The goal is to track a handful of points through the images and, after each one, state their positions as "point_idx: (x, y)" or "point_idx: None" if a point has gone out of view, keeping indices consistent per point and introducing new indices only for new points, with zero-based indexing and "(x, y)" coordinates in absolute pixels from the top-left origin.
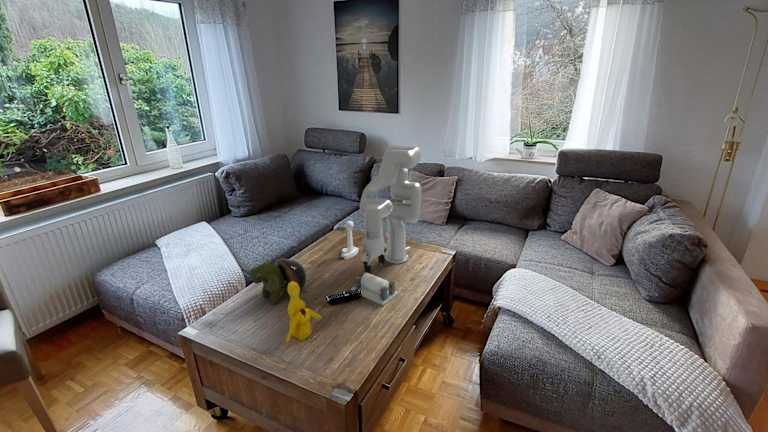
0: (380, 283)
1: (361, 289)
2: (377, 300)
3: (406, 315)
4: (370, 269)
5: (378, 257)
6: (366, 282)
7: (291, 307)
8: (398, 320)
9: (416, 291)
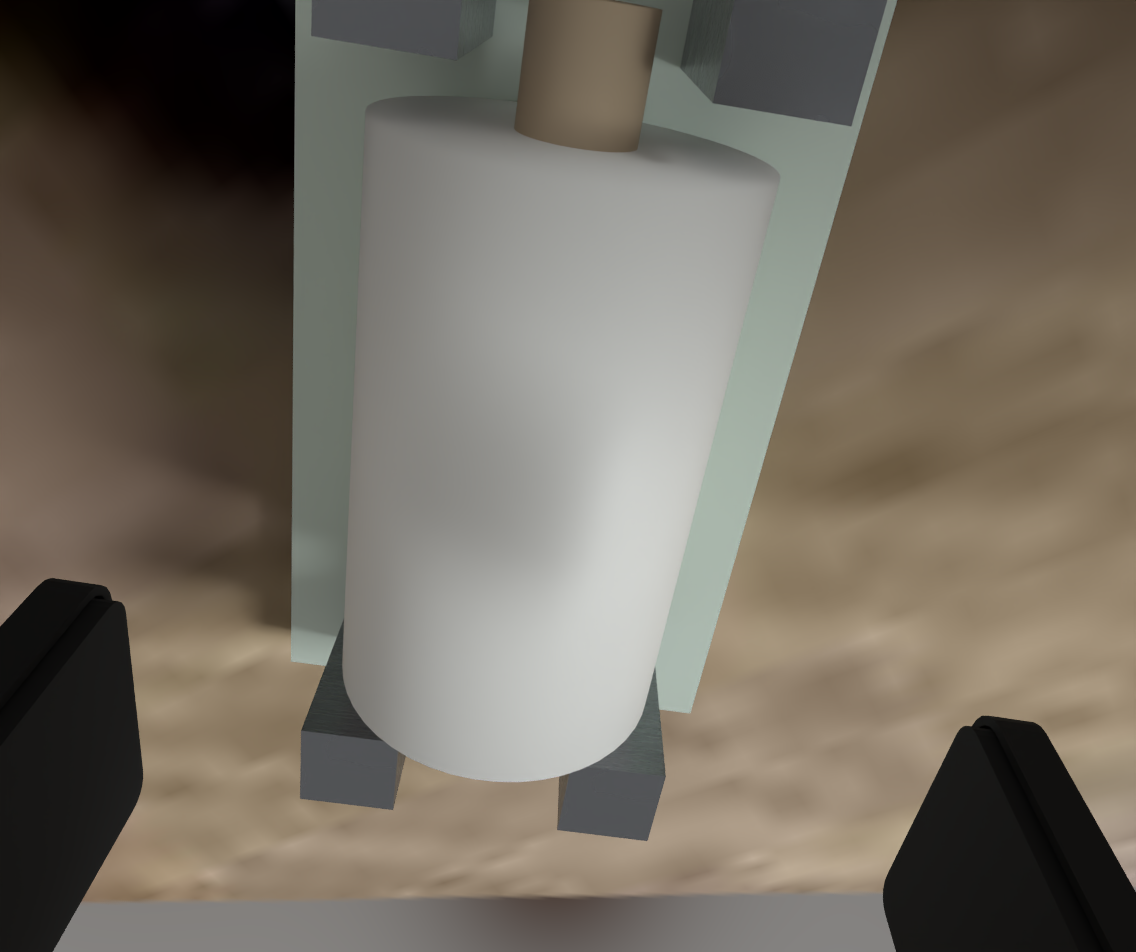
0: (393, 722)
1: (428, 88)
2: (298, 553)
3: (315, 895)
4: (45, 928)
5: (1071, 950)
6: (361, 331)
7: None
8: (176, 866)
9: (870, 826)
